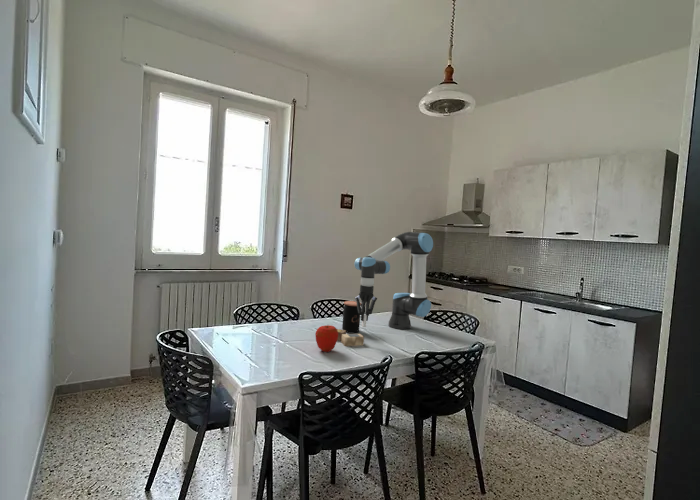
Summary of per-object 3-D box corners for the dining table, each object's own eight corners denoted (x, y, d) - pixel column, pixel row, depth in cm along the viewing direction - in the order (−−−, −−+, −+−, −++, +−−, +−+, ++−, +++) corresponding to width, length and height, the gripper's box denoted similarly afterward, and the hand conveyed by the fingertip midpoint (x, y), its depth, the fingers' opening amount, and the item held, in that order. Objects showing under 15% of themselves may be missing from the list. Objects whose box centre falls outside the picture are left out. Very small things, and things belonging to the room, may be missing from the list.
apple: (325, 345, 214) (327, 320, 213) (342, 351, 206) (344, 324, 206) (309, 350, 204) (311, 323, 204) (326, 356, 197) (328, 328, 196)
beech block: (360, 333, 225) (341, 333, 221) (363, 336, 219) (345, 337, 216) (359, 342, 225) (341, 342, 222) (363, 345, 220) (344, 346, 216)
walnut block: (346, 330, 229) (328, 327, 233) (342, 332, 224) (324, 329, 227) (345, 339, 230) (328, 335, 233) (342, 341, 224) (324, 338, 228)
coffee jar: (352, 334, 239) (354, 305, 238) (338, 330, 245) (340, 302, 244) (362, 331, 247) (364, 303, 246) (348, 327, 254) (350, 300, 253)
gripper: (375, 284, 226) (372, 324, 227) (353, 283, 222) (350, 324, 223) (380, 286, 219) (377, 328, 220) (358, 285, 215) (355, 328, 216)
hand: (363, 326), depth 222 cm, fingers closed
